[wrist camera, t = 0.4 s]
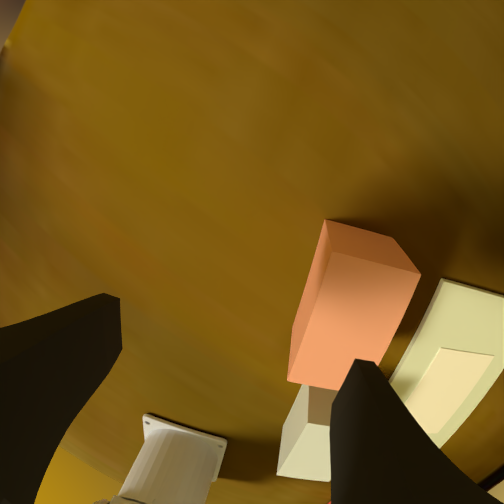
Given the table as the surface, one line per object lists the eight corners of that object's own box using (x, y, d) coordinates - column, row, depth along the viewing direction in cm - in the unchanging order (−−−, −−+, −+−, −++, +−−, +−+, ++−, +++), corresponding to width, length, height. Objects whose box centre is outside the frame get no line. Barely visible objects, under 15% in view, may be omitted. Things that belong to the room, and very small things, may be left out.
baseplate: (428, 455, 22) (429, 459, 22) (339, 451, 23) (339, 456, 22) (534, 304, 16) (538, 308, 15) (441, 277, 16) (444, 282, 16)
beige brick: (328, 433, 22) (328, 481, 18) (283, 425, 23) (276, 474, 18) (362, 376, 20) (371, 431, 15) (309, 367, 20) (307, 422, 15)
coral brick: (352, 338, 19) (361, 394, 14) (292, 325, 19) (287, 380, 14) (392, 236, 16) (421, 274, 12) (324, 218, 16) (332, 251, 12)
